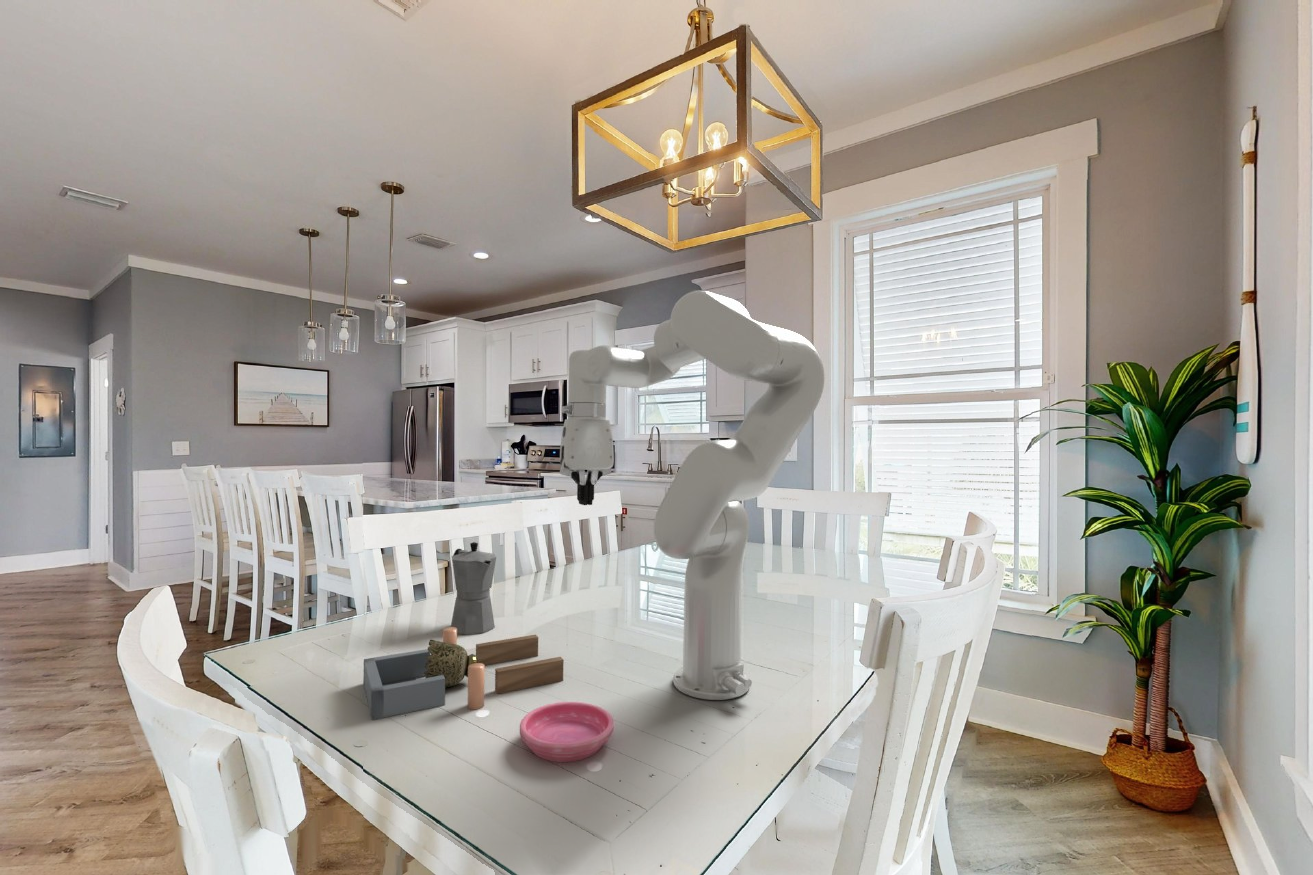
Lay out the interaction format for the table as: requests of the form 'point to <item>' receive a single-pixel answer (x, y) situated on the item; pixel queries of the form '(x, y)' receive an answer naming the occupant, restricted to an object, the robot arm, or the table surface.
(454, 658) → the cup
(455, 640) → the goal posts
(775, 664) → the table surface
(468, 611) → the coffeepot
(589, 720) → the pink bowl
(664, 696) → the table surface
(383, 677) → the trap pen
